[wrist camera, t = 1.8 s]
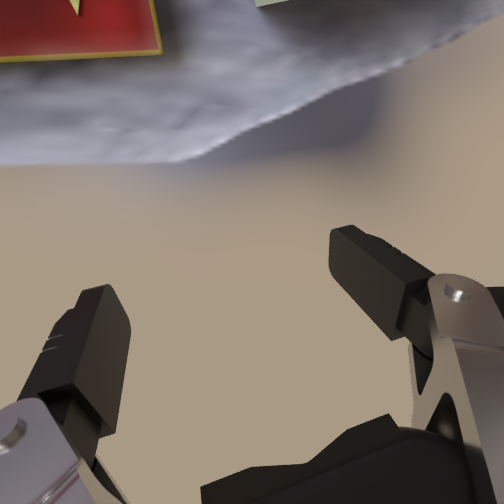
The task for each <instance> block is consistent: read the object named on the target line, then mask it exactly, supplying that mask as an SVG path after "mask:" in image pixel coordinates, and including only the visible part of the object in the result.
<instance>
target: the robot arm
mask: <svg viewBox="0 0 504 504" xmlns="http://www.w3.org/2000/svg"><path fill="white" fill-rule="evenodd" d="M329 269H330V272H331V274H332V276H333V278H334V279H335V280H336V281H337V282H338V283H339V284H340V286H341V287H343V289H344V290H345V291H346V292H347V293H348V294H349V295H350V296H351V298H352V299H353V300H354V301H355V302H356V303H357V304H358V305H359V306H360V307H361V308H362V310H363V311H364V312H365V313H366V314H367V315H368V316H369V317H370V318H371V319H372V320H373V322H374V323H375V324H376V325H377V326H378V327H379V328H380V329H381V330H382V331H383V332H384V333H385V335H386V336H387V337H388V338H389V339H390V340H391V341H393V340H396V339H399V338H402V337H406V338H407V339H409V341H410V342H409V345H408V354H409V363H410V373H411V382H412V392H413V415H412V427H411V428H410V427H398V426H397V424H396V423H395V422H394V420H393V419H392V417H391V416H390V414H386V415H383V416H380V417H378V418H375V419H373V420H370V421H368V422H365V423H362V424H360V425H357V426H355V427H352V428H350V429H347V430H346V431H345V432H344V433H342V434H341V435H340V436H339V437H337V438H336V439H335V440H334V441H333V442H332V443H331V444H329V445H328V446H327V447H326V448H325V449H323V450H322V451H321V452H320V453H319V454H318V455H316V456H315V457H314V458H313V459H312V460H310V461H309V462H307V463H304V464H295V465H294V464H293V465H277V466H259V467H250V468H247V469H245V470H242V471H240V472H237V473H234V474H232V475H229V476H227V477H224V478H222V479H219V480H217V481H214V482H211V483H209V484H206V485H204V486H201V487H200V489H201V501H202V504H504V287H484V286H483V285H482V284H480V283H479V282H477V281H475V280H473V279H470V278H468V277H465V276H461V275H456V274H438V275H436V274H434V273H433V272H431V271H430V270H428V269H427V268H425V267H424V266H422V265H421V264H419V263H418V262H416V261H415V260H413V259H412V258H410V257H409V256H407V255H406V254H404V253H403V254H402V253H401V251H400V250H398V249H397V248H395V247H392V245H391V244H389V243H388V242H386V241H385V240H383V239H381V238H379V237H375V236H373V235H370V234H366V233H364V232H363V231H361V230H360V229H359V228H357V227H356V226H354V225H347V226H343V227H339V228H335V229H332V230H331V233H330V243H329ZM130 337H131V327H130V322H129V318H128V316H127V314H126V312H125V310H124V309H123V306H122V305H121V303H120V301H119V299H118V297H117V295H116V293H115V291H114V289H113V288H112V286H111V285H109V284H106V285H102V286H98V287H94V288H90V289H86V290H83V291H82V292H81V294H80V296H79V298H78V301H77V303H76V305H75V307H74V309H69V310H68V311H67V312H66V313H65V314H64V315H63V316H62V317H61V318H60V319H59V320H58V321H57V322H56V323H55V325H54V327H53V329H52V331H51V333H50V335H49V337H48V338H49V340H47V341H46V343H45V345H44V347H43V349H42V350H43V352H42V353H40V355H39V357H38V359H37V361H36V363H35V365H34V367H33V369H32V371H31V373H30V375H29V377H28V379H27V381H26V383H25V385H24V387H23V389H22V391H21V393H20V395H19V397H18V399H17V401H16V402H14V403H12V404H10V405H8V406H6V407H5V408H3V409H2V410H0V504H130V503H129V501H128V500H127V498H126V497H125V495H124V494H123V492H122V491H121V489H120V488H119V486H118V485H117V483H116V482H115V480H114V479H113V478H112V476H111V475H110V473H109V472H108V470H107V468H106V467H105V466H104V464H103V463H102V461H101V460H100V458H99V457H98V456H97V455H96V449H97V445H98V440H99V438H102V437H105V436H108V435H111V434H114V433H115V432H116V426H117V419H118V413H119V407H120V400H121V394H122V388H123V381H124V374H125V369H126V362H127V356H128V350H129V343H130Z"/></svg>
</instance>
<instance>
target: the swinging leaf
mask: <svg viewBox="0 0 504 504" xmlns="http://www.w3.org/2000/svg"><path fill="white" fill-rule="evenodd" d="M283 1H287V0H255V4H256V7H259V6H263V5H268V4H273V3H278V2H283Z"/></svg>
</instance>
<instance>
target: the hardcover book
mask: <svg viewBox="0 0 504 504" xmlns="http://www.w3.org/2000/svg"><path fill="white" fill-rule="evenodd" d="M151 55H164V51H163V46H162V41H161V36H160V31H159V25H158V20H157V15H156V10H155V5H154V0H0V63H7V62H28V61H48V60H69V59H89V58H110V57H130V56H151Z"/></svg>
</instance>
